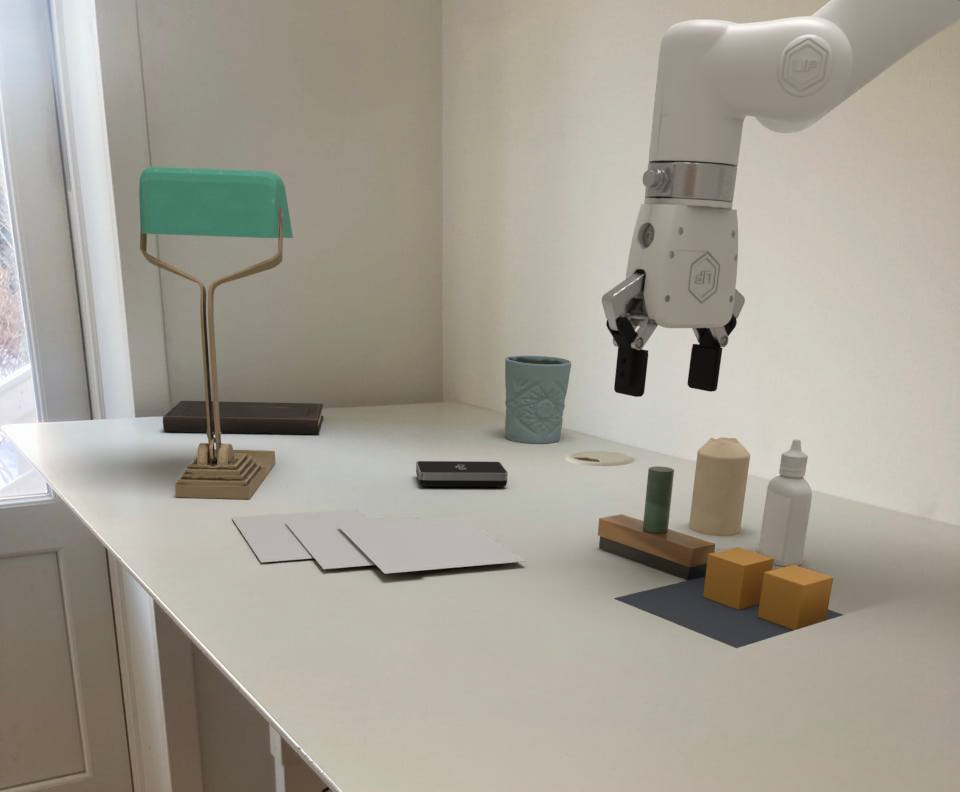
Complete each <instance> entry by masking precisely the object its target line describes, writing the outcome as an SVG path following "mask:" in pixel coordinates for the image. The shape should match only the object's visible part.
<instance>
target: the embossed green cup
mask: <svg viewBox="0 0 960 792" xmlns="http://www.w3.org/2000/svg"><path fill="white" fill-rule="evenodd" d="M571 369H572V361H571V360H569V359H566V358H561V357H555V356H545V355H544V356H543V355H509V356H506V357H505V358H504V382H505V383H504V384H505V401H504V404H505V419H504V420H505V421H504V422H505V423H504V435H505V438H506V439H507V440H508V441H512V442H516V443H523V444H552V443H557V442H559V441H560V439H561V435H562V430H563V429H562V428H563V421H564V420H563V416H564V410H565V407H566V404H565V403H566V396H567V393H568V387H569V382H570V381H569V380H570V374H571Z"/></svg>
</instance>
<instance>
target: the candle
mask: <svg viewBox="0 0 960 792" xmlns="http://www.w3.org/2000/svg"><path fill="white" fill-rule="evenodd" d="M696 454H697V455H696V462H695V472H694V480H693V490H692V497H691V506H690V514H689V529H690V530H691V531H693V532H696V533H699V534H702V535H707V536H708V535H709V536H719V537H720V536H721V537H723V536H724V537H725V536H726V537H727V536H728V537H729V536H734V535H738V534H739V533H740V532H741V527H742V520H743V515H744V514H743V513H744V505H745V500H746V499H745V498H746V491H747V482H748V475H749V468H750V461H751V454H750V452H749V451H748V449H747V448H746V447H745V446H744V445H743V444H742V443H741V442H740V441H739V440H738V439H737V438H736V437H723V436H722V437H719V438H713V437H710V438H709V439H708V440H707V441H706V442H705V443H704V444H703V445H702V446H701V447H700V448H699V449H698V450H697V453H696Z"/></svg>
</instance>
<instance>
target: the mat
mask: <svg viewBox="0 0 960 792" xmlns="http://www.w3.org/2000/svg"><path fill="white" fill-rule="evenodd" d="M705 577H706V576H704V577H700V578H695V579H691V580H684V581H679V582H675V583H672V584H667V585H663V586H659V587H654V588H650V589H646V590H641V591H638V592H633V593H630V594H626V595H621V596H617V597H614V600H617V601H619V602H620V603H621V602H622V603H624V604H626V605H629V606H631V607H634V608H636V609H639V610H641V611H643V612H646V613H648V614H651V615H653V616H656V617H658V618H661V619H664V620H665V621H668V622H671V623H673V624H676V625H678V626H681V627H683V628H686V629H688V630H691V631H692V632H695V633H698V634H701V635H703V636H705V637H707V638H710V639H713V640H715V641H717V642H720V643H722V644H725V645H728V646H730V647H733V648H735V649H739V648H743V647H746V646H748V645H752V644H755V643H759V642H762V641H765V640H768V639H772V638H775V637H778V636H781V635H784V634H787V633H791V632H794V631H795V630H792V629H789V628H786V627H784V626H781V625H778V624H776V623H773V622H770V621H767V620H765V619H762V618H759V617H758V612H759V605H760V604H758V605H755V606H751V607H747V608H744V609H740V610H737V609H734V608H732V607H729V606H726V605H724V604H721V603H718V602H716V601H713V600H710V599H707V598H705V597H703V593H704V585H705ZM843 616H844V614H843V613H840V612H837V611H834V610H831V609H828V613H827V619H826V621H829V620H832V619H836V618H839V617H843Z"/></svg>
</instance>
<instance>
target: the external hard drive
mask: <svg viewBox="0 0 960 792" xmlns="http://www.w3.org/2000/svg"><path fill="white" fill-rule="evenodd" d="M415 474H416V476H417V479H418V482H419V485H420V486H422V487H423V488H504V487H506V486H507V484H508V470H507V469H506V468H505V466H504V465H503V463H502V462H500V461H484V460H483V461H482V460H481V461H476V460H475V461H474V460H473V461H471V460H468V461H467V460H464V461H463V460H459V461H458V460H455V461H454V460H418V461H417V460H416V462H415Z"/></svg>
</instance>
